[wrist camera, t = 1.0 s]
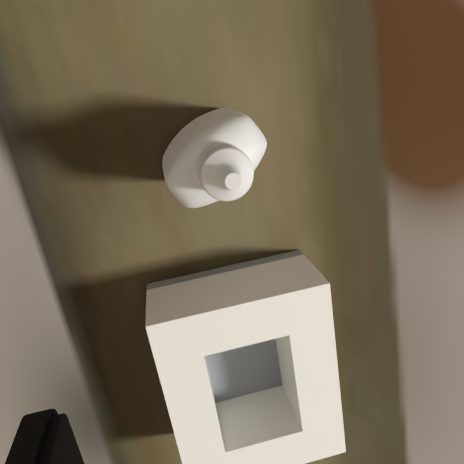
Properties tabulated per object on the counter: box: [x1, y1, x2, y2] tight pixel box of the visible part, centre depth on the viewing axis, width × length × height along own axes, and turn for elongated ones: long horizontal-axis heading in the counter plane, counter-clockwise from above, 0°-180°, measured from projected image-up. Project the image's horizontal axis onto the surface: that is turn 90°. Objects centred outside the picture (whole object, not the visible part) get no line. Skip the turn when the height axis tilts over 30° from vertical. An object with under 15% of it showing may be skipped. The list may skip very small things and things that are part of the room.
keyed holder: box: [145, 250, 346, 464], centre depth 31 cm, size 14×12×6 cm
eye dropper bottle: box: [162, 108, 267, 208], centre depth 23 cm, size 4×6×12 cm
